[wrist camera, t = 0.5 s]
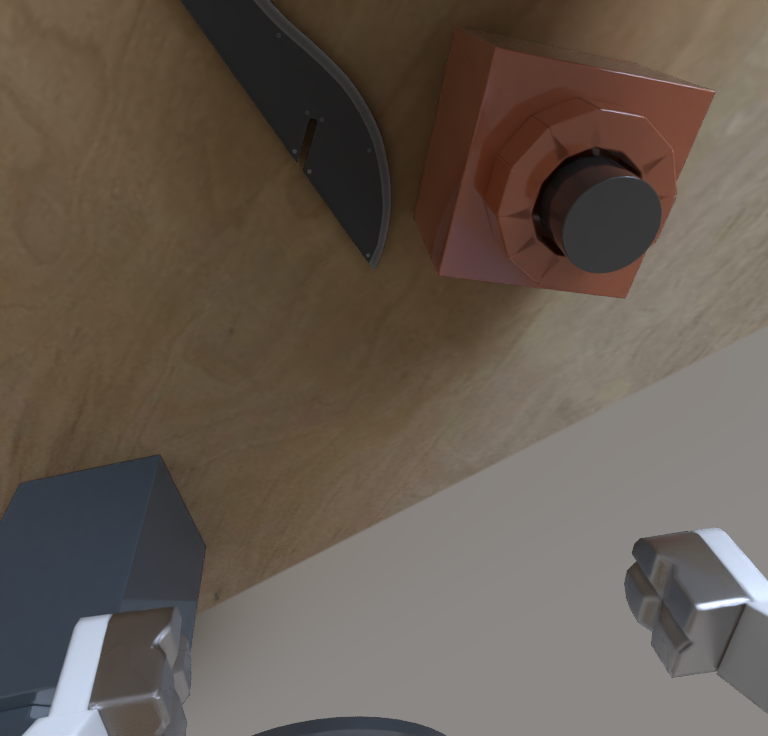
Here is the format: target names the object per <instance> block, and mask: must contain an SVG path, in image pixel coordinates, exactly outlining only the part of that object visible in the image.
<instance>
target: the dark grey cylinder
mask: <svg viewBox="0 0 768 736" xmlns="http://www.w3.org/2000/svg"><path fill="white" fill-rule="evenodd" d="M661 218H662V208H661V202H660V199H659V196H658V195H657V193H656V191H655V190H654V188H653V187H652V186H651V185H650V184H648V183H647V182H646V181H644V180H643V179H641V178H640V177H638V176H637V175H635V174H634V173H632V172H631V171H629V170H628V169H626V168H625V167H623V166H622V165H620V164H619V163H617V162H616V161H614V160H613V159H610V158H608V157H605V156H600V155H589V156H583V157H580V158H577V159H575V160H572V161H570V162H569V163H567V164H565V165H564V166H563V167H561V168H560V169H559V170H558V171H557V172H556V173H555V174H554V175H553V176H552V177H551V178H550V180H549V181H548V183H547V184H546V186H545V188H544V190H543V192H542V195H541V198H540V203H539V219H540V222H541V225H542V228H543V230H544V231H545V233H546V234H547V235H548V236H549V237H550V239H551V240H552V241H553V242H554V243H555V244H556V245H557V247H558V248H559V249H560V250H561V251H562V252H563V253H564V255H565V256H566V257H567V258H568V259H569V260H570V261H571V262H572V264H574V265H575V266H576V267H577V268H579V269H581V270H583V271H586V272H590V273H598V274H601V273H610V272H614V271H617V270H620V269H622V268H625V267H626V266H628V265H630V264H632V263H633V262H635V261H636V260H637V259H638V258H640V257H641V256H642V255H643V254H644V253H645V252H646V251H647V249H648V248H649V247H650V246H651V244H652V242H653V241H654V239H655V237H656V235H657V233H658V230H659V228H660V224H661Z"/></svg>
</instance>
